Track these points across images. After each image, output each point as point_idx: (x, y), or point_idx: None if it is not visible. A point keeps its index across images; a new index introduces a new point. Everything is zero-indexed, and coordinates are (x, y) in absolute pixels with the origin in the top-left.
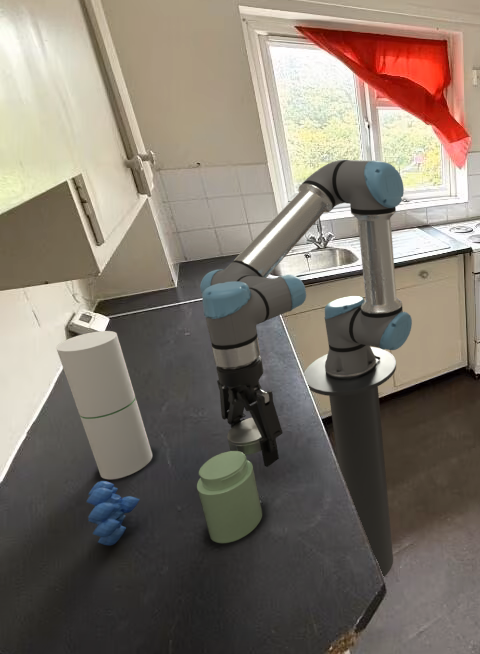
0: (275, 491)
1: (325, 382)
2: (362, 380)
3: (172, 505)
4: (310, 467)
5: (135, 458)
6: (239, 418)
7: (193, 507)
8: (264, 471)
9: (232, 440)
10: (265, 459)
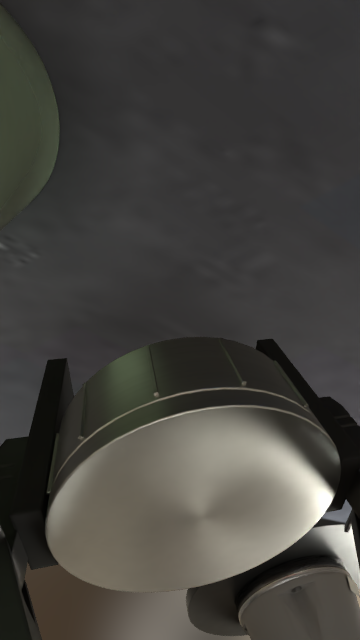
0: (2, 301)
1: (307, 545)
2: (229, 586)
3: (318, 31)
4: (19, 416)
5: None
6: (358, 513)
7: (219, 72)
8: (143, 332)
9: (211, 416)
10: (40, 391)
